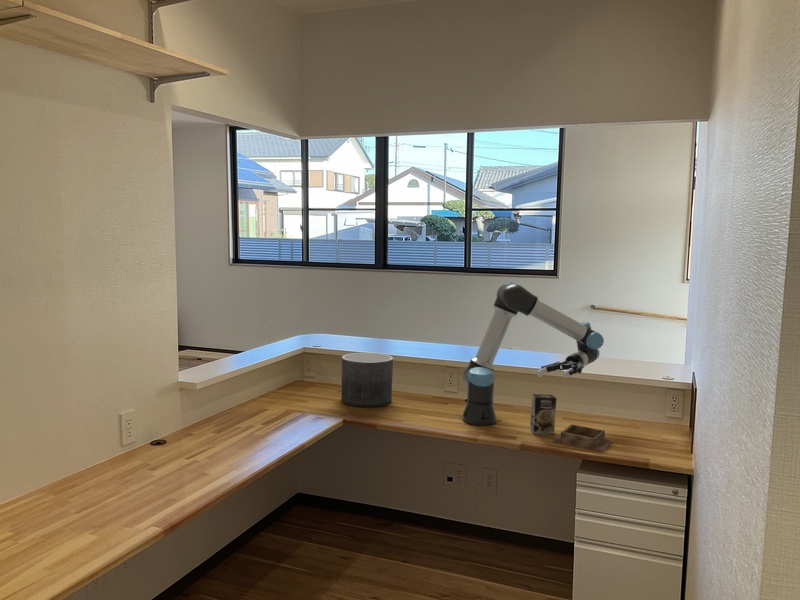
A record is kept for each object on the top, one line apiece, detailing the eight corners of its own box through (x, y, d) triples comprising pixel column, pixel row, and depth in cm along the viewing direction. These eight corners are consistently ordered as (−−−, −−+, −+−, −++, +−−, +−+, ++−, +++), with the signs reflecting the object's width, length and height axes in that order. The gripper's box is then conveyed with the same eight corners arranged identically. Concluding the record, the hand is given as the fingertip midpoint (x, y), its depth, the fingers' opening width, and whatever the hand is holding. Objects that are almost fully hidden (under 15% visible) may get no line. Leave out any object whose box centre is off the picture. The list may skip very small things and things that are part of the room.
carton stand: (553, 441, 249) (553, 430, 248) (564, 433, 260) (564, 422, 260) (602, 452, 238) (603, 440, 237) (611, 442, 249) (612, 432, 249)
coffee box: (533, 434, 257) (535, 397, 255) (529, 429, 263) (531, 393, 262) (554, 434, 257) (556, 397, 256) (550, 430, 264) (552, 393, 262)
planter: (397, 397, 312) (398, 354, 310) (383, 409, 288) (384, 364, 285) (351, 392, 319) (352, 351, 316) (333, 404, 294) (334, 359, 292)
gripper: (602, 369, 270) (577, 384, 256) (554, 368, 289) (529, 382, 275) (599, 353, 270) (574, 367, 256) (552, 353, 288) (526, 366, 274)
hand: (550, 375), depth 265 cm, fingers open, 13 cm apart
